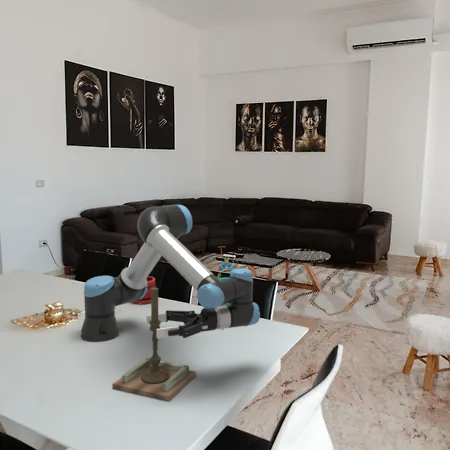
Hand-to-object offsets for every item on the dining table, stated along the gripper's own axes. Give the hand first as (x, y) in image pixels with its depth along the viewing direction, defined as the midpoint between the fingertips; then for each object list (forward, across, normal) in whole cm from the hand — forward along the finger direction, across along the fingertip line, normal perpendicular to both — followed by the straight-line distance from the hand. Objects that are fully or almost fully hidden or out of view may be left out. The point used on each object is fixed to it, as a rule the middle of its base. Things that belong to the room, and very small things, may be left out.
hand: (151, 326), depth 143 cm
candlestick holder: (-1, 0, -17) cm, 17 cm away
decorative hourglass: (-45, +46, -19) cm, 67 cm away
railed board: (-1, 0, -19) cm, 19 cm away
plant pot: (-16, +89, -19) cm, 92 cm away
